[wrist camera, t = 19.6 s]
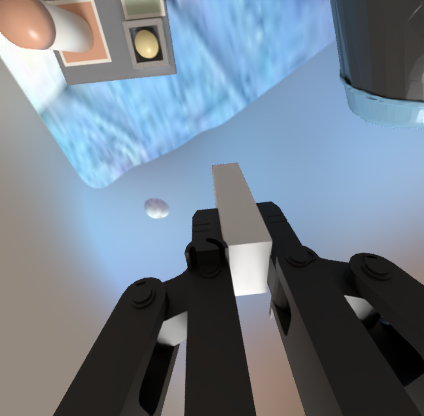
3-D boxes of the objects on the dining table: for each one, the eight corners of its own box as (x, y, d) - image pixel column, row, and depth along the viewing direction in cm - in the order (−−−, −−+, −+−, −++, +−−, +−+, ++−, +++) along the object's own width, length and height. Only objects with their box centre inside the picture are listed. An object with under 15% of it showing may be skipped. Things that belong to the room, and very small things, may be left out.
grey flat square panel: (147, -119, 22) (145, -125, 21) (176, 73, 31) (176, 73, 31) (-6, -104, 22) (-13, -110, 21) (70, 84, 31) (67, 85, 31)
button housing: (163, 21, 27) (161, 17, 26) (170, 65, 30) (168, 65, 28) (126, 24, 27) (122, 21, 26) (137, 68, 30) (133, 68, 28)
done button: (156, 31, 27) (154, 28, 26) (161, 57, 29) (159, 56, 27) (135, 33, 27) (131, 31, 26) (141, 59, 29) (138, 58, 27)
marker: (85, 9, 26) (23, -21, 17) (100, 50, 29) (52, 44, 19) (53, 16, 26) (-25, -11, 17) (71, 56, 29) (10, 52, 20)
